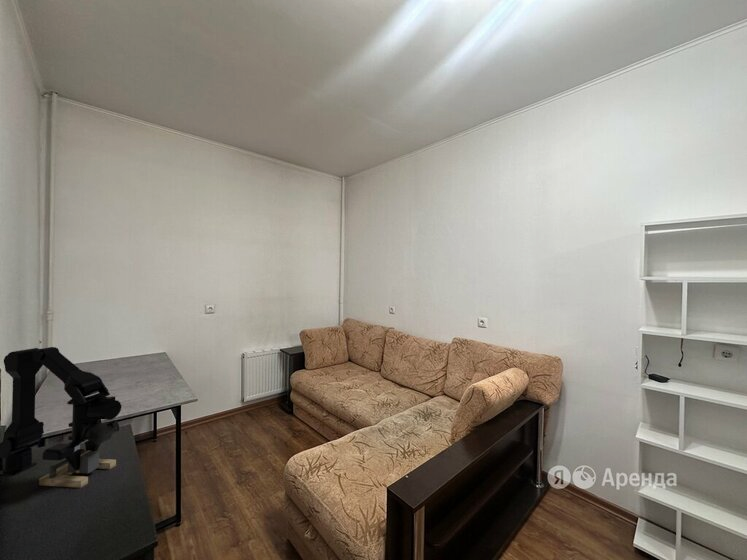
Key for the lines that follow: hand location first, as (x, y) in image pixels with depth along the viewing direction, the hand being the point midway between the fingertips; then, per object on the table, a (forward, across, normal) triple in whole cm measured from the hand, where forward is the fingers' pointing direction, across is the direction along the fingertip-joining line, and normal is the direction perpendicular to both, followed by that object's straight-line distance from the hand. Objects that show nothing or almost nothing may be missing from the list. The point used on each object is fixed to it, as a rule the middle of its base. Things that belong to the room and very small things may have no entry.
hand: (83, 466), depth 95 cm
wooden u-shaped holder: (+3, 0, +2) cm, 3 cm away
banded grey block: (+1, 0, 0) cm, 1 cm away
